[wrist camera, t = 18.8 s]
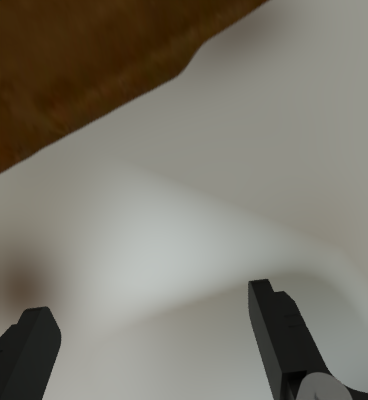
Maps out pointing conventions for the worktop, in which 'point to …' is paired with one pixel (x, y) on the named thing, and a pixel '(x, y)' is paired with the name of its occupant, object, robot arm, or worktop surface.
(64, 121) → the worktop surface
